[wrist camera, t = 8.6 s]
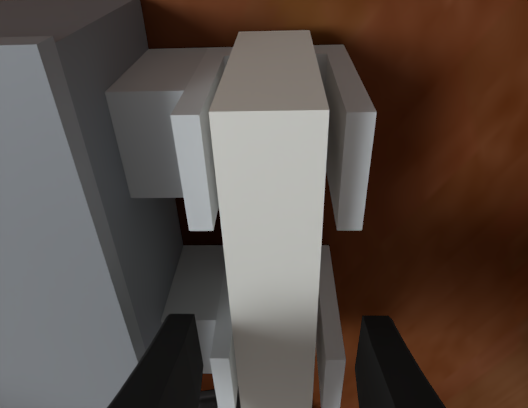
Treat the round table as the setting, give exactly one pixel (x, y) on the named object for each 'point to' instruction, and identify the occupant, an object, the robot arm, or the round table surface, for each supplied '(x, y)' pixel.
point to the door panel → (272, 210)
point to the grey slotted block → (131, 201)
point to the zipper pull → (213, 399)
